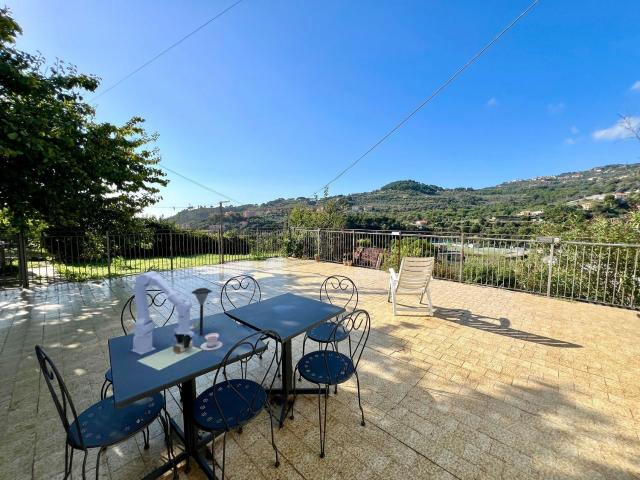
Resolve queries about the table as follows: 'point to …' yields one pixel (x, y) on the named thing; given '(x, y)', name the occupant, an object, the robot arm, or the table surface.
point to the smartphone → (194, 325)
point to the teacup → (211, 342)
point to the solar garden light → (201, 303)
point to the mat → (167, 357)
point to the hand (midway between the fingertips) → (183, 346)
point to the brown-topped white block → (181, 347)
